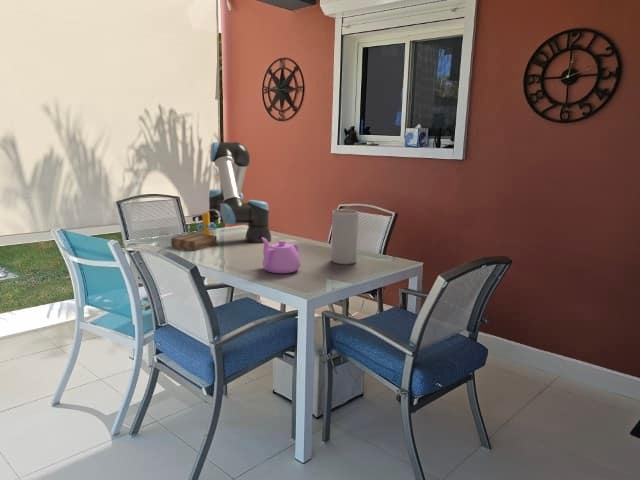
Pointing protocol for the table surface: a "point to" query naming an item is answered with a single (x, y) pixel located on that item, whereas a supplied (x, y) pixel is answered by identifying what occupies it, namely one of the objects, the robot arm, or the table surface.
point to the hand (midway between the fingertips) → (207, 221)
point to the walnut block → (194, 241)
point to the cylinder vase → (344, 236)
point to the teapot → (280, 257)
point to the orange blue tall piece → (206, 224)
